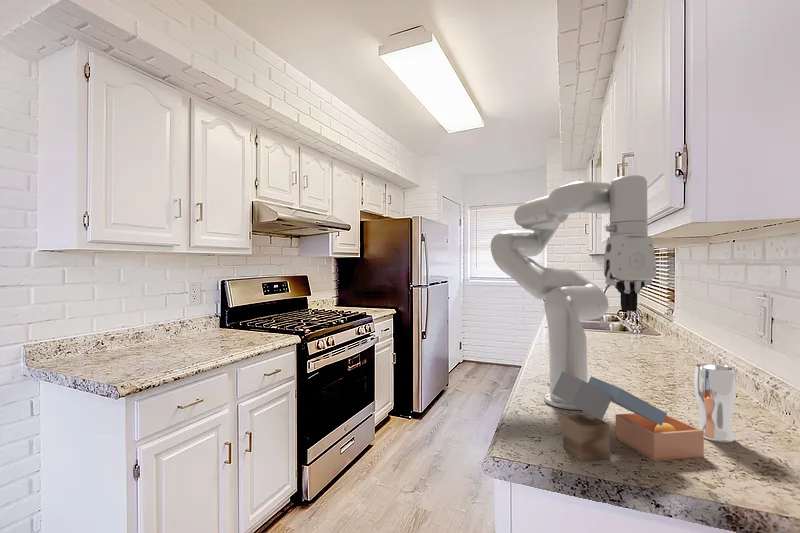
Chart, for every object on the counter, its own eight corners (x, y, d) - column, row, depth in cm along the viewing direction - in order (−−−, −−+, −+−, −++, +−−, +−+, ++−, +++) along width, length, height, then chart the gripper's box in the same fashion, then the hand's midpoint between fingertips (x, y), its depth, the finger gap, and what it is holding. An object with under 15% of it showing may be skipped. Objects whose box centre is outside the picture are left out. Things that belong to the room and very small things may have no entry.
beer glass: (696, 428, 89) (694, 361, 90) (736, 435, 85) (734, 366, 85) (694, 438, 84) (692, 367, 84) (737, 447, 80) (735, 372, 80)
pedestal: (581, 461, 75) (580, 426, 75) (563, 447, 80) (562, 415, 81) (610, 458, 75) (609, 424, 76) (590, 445, 81) (589, 413, 81)
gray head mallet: (574, 406, 73) (590, 372, 73) (535, 383, 88) (548, 355, 88) (656, 449, 75) (671, 415, 76) (604, 420, 90) (617, 392, 91)
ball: (665, 439, 83) (648, 438, 82) (667, 420, 83) (650, 419, 82) (681, 447, 79) (664, 446, 78) (683, 427, 79) (666, 426, 78)
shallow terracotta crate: (615, 437, 85) (615, 414, 85) (660, 434, 86) (659, 411, 86) (654, 461, 74) (654, 434, 74) (703, 456, 76) (703, 430, 76)
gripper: (607, 229, 86) (608, 313, 86) (671, 229, 88) (671, 311, 88) (588, 232, 94) (588, 309, 94) (646, 232, 95) (647, 308, 95)
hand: (629, 310), depth 91 cm, fingers closed
